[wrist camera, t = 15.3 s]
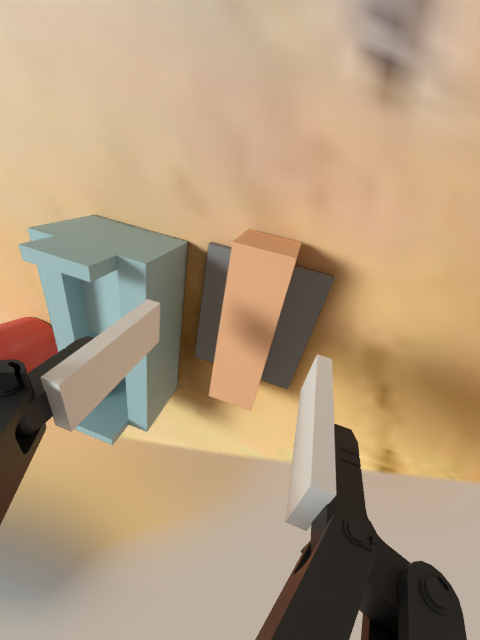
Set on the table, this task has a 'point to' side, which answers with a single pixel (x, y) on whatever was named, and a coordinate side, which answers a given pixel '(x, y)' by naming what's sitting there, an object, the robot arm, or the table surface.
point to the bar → (250, 313)
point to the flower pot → (27, 341)
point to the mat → (292, 324)
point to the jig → (114, 305)
